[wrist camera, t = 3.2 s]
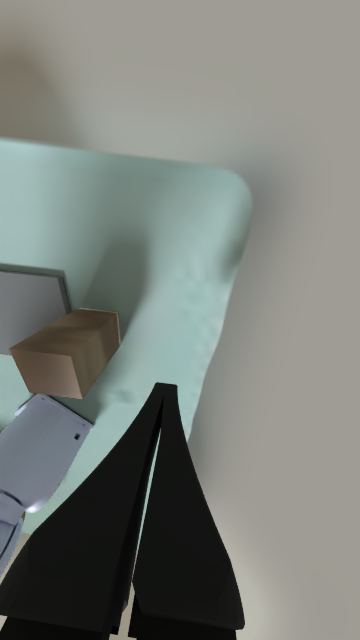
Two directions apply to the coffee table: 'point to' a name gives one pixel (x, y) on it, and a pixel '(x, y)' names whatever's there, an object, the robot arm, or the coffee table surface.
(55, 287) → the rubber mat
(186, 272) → the coffee table surface
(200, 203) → the coffee table surface
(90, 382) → the walnut block
